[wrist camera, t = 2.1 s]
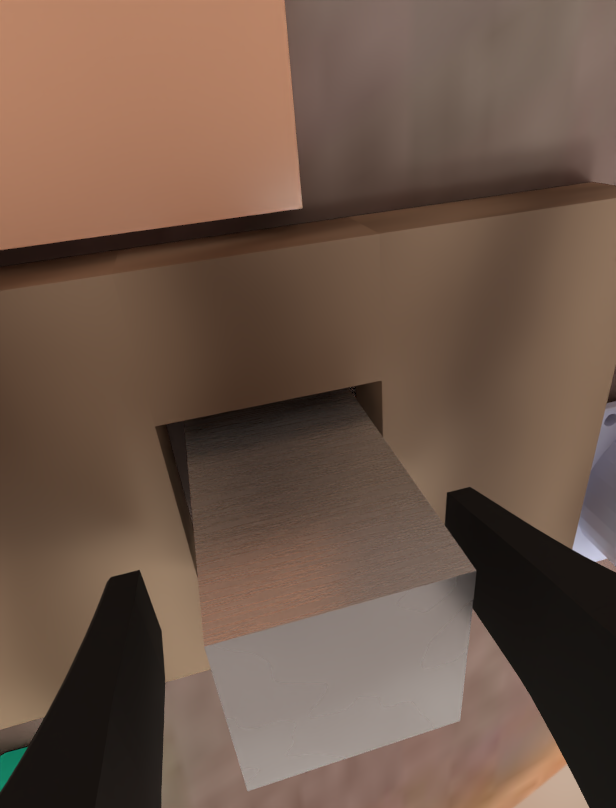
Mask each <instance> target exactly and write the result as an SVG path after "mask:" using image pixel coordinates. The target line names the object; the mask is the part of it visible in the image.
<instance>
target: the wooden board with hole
mask: <svg viewBox="0 0 616 808" xmlns="http://www.w3.org/2000/svg"><path fill="white" fill-rule="evenodd" d="M615 366H616V186H615V185H609V184H602V183H596V182H589V183H582V184H575V185H568V186H561V187H554V188H547V189H540V190H533V191H526V192H519V193H512V194H505V195H498V196H491V197H484V198H477V199H470V200H463V201H456V202H449V203H442V204H435V205H428V206H421V207H414V208H407V209H400V210H393V211H387V212H380V213H373V214H366V215H359V216H352V217H345V218H338V219H331V220H324V221H317V222H310V223H303V224H296V225H289V226H282V227H275V228H268V229H261V230H254V231H247V232H240V233H233V234H226V235H219V236H212V237H205V238H198V239H191V240H184V241H177V242H170V243H163V244H156V245H150V246H143V247H136V248H129V249H122V250H115V251H108V252H101V253H94V254H87V255H80V256H73V257H66V258H59V259H52V260H45V261H38V262H31V263H24V264H17V265H10V266H3V267H0V730H1V729H4V728H8V727H11V726H15V725H18V724H22V723H25V722H29V721H32V720H36V719H39V718H43V717H45V716H46V714H47V712H48V710H49V708H50V706H51V704H52V702H53V700H54V698H55V697H56V695H57V693H58V691H59V689H60V687H61V685H62V683H63V681H64V679H65V677H66V675H67V673H68V671H69V669H70V667H71V665H72V663H73V660H74V658H75V656H76V654H77V652H78V650H79V648H80V646H81V643H82V641H83V639H84V637H85V635H86V632H87V630H88V628H89V625H90V623H91V621H92V618H93V616H94V614H95V611H96V609H97V606H98V604H99V601H100V599H101V596H102V593H103V591H104V588H105V585H106V583H107V581H108V580H109V579H110V577H113V576H117V575H121V574H125V573H129V572H133V571H137V570H140V572H141V575H142V577H143V580H144V583H145V586H146V589H147V591H148V594H149V597H150V600H151V603H152V605H153V608H154V611H155V614H156V616H157V619H158V622H159V625H160V628H161V630H162V641H163V654H164V668H165V682H168V681H172V680H175V679H179V678H182V677H186V676H189V675H193V674H196V673H200V672H203V671H207V670H210V669H211V668H210V665H209V661H208V658H207V655H206V651H205V648H204V640H203V629H202V618H201V607H200V596H199V585H198V574H197V563H196V551H195V540H194V529H193V525H192V521H191V517H190V514H189V510H188V506H187V503H186V499H185V495H184V491H183V488H182V484H181V480H180V477H179V473H178V469H177V465H176V462H175V458H174V454H173V450H172V447H171V443H170V439H169V436H168V432H167V428H166V424H170V423H175V422H179V421H184V420H189V419H194V418H199V417H204V416H209V415H214V414H219V413H224V412H229V411H234V410H239V409H244V408H249V407H254V406H259V405H263V404H268V403H273V402H278V401H283V400H288V399H293V398H298V397H303V396H308V395H313V394H318V393H323V392H328V391H333V390H338V389H343V388H347V387H352V386H356V398H357V401H358V402H359V404H360V405H361V407H362V408H363V410H364V411H365V412H366V414H367V415H368V417H369V418H370V420H371V421H372V422H373V424H374V425H375V427H376V428H377V430H378V431H379V432H380V434H381V435H382V437H383V438H384V440H385V441H386V442H387V444H388V445H389V447H390V448H391V450H392V451H393V452H394V454H395V455H396V457H397V458H398V459H399V461H400V462H401V464H402V465H403V467H404V468H405V469H406V471H407V472H408V474H409V475H410V477H411V478H412V479H413V481H414V482H415V484H416V485H417V487H418V488H419V489H420V491H421V492H422V494H423V495H424V497H425V498H426V499H427V501H428V502H429V504H430V505H431V506H432V508H433V509H434V511H435V512H436V514H437V515H438V516H439V518H440V519H441V521H442V522H443V524H444V525H445V512H446V496H447V492H451V491H455V490H459V489H463V488H467V487H471V488H473V489H475V490H476V491H478V492H479V493H481V494H483V495H484V496H486V497H487V498H489V499H490V500H492V501H494V502H495V503H497V504H498V505H500V506H501V507H503V508H504V509H506V510H508V511H509V512H511V513H512V514H514V515H516V516H517V517H519V518H520V519H522V520H523V521H525V522H527V523H528V524H530V525H531V526H533V527H535V528H536V529H538V530H540V531H541V532H543V533H545V534H546V535H548V536H550V537H551V538H553V539H555V540H556V541H558V542H560V543H562V544H563V545H565V546H567V547H569V548H570V549H572V548H573V544H574V540H575V535H576V531H577V527H578V523H579V518H580V514H581V510H582V506H583V502H584V497H585V493H586V489H587V485H588V480H589V476H590V472H591V468H592V463H593V459H594V455H595V451H596V446H597V442H598V438H599V434H600V430H601V425H602V421H603V417H604V413H605V408H606V404H607V400H608V396H609V391H610V387H611V383H612V379H613V374H614V370H615Z"/></svg>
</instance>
